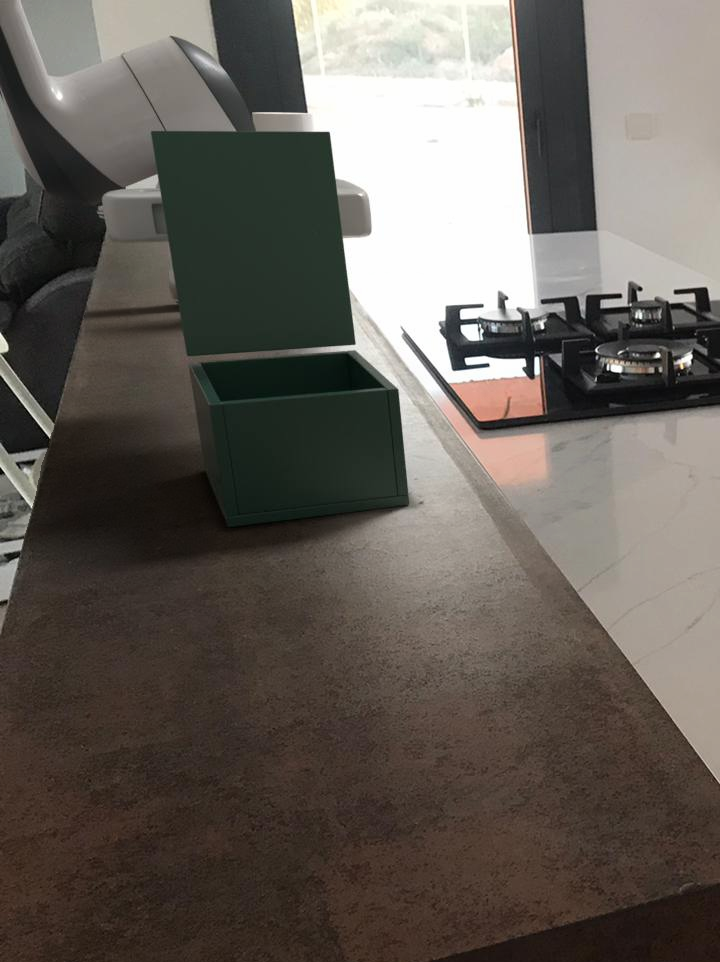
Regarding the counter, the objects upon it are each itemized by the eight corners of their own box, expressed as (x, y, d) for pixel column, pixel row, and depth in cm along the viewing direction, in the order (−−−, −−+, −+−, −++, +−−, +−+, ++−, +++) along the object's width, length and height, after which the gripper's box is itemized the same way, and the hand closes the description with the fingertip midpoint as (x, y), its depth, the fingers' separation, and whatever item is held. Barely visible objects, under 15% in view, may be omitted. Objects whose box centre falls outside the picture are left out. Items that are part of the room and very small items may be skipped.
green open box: (409, 505, 96) (398, 388, 92) (228, 527, 90) (209, 404, 87) (366, 453, 108) (355, 350, 105) (205, 471, 103) (188, 361, 99)
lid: (330, 131, 100) (328, 132, 100) (151, 130, 94) (150, 131, 95) (356, 345, 105) (354, 344, 105) (187, 356, 99) (186, 355, 99)
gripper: (89, 169, 105) (95, 181, 94) (347, 168, 114) (381, 179, 103) (102, 248, 107) (110, 269, 96) (355, 241, 117) (388, 259, 105)
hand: (252, 222), depth 100 cm, fingers closed
